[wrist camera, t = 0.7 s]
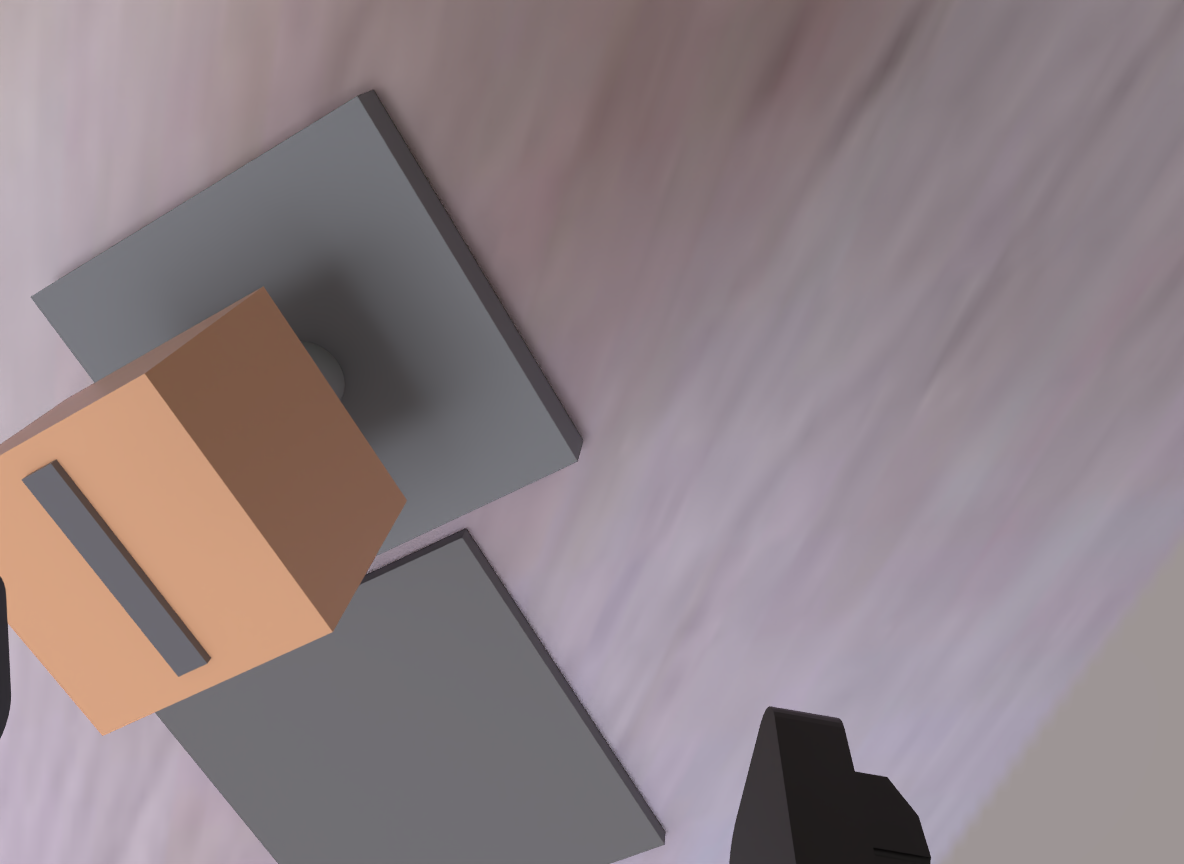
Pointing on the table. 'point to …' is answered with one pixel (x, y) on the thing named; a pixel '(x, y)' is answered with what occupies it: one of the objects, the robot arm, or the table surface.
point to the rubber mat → (417, 735)
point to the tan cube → (188, 516)
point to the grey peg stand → (343, 309)
